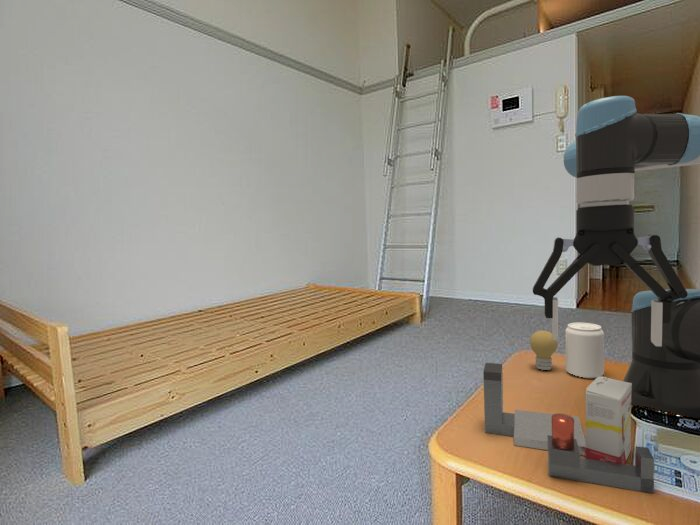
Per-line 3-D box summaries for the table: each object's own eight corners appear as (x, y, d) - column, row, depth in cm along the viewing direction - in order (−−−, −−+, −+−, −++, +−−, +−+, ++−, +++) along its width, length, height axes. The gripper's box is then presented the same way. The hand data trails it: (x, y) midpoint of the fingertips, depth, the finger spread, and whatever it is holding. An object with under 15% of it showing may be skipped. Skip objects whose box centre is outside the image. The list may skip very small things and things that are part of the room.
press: (578, 424, 76) (578, 364, 75) (587, 456, 66) (587, 387, 65) (488, 413, 82) (486, 357, 81) (483, 440, 72) (482, 377, 71)
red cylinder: (576, 454, 63) (576, 413, 62) (579, 468, 59) (579, 426, 59) (547, 449, 64) (547, 410, 64) (549, 463, 61) (548, 422, 60)
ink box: (620, 476, 60) (621, 399, 59) (583, 464, 64) (583, 391, 63) (632, 451, 67) (633, 381, 66) (597, 441, 70) (598, 374, 69)
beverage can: (564, 367, 106) (563, 321, 105) (600, 369, 103) (600, 322, 102) (567, 378, 98) (567, 329, 97) (606, 381, 95) (606, 330, 94)
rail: (647, 480, 59) (647, 447, 59) (653, 493, 56) (654, 458, 56) (547, 464, 64) (547, 434, 64) (549, 475, 61) (548, 444, 61)
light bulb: (557, 366, 106) (557, 328, 105) (557, 374, 101) (557, 335, 100) (531, 363, 109) (530, 327, 108) (529, 371, 104) (528, 333, 103)
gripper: (698, 200, 61) (694, 339, 63) (517, 210, 71) (518, 330, 73) (718, 197, 54) (714, 354, 56) (515, 209, 64) (517, 341, 66)
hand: (603, 340), depth 64 cm, fingers open, 13 cm apart
